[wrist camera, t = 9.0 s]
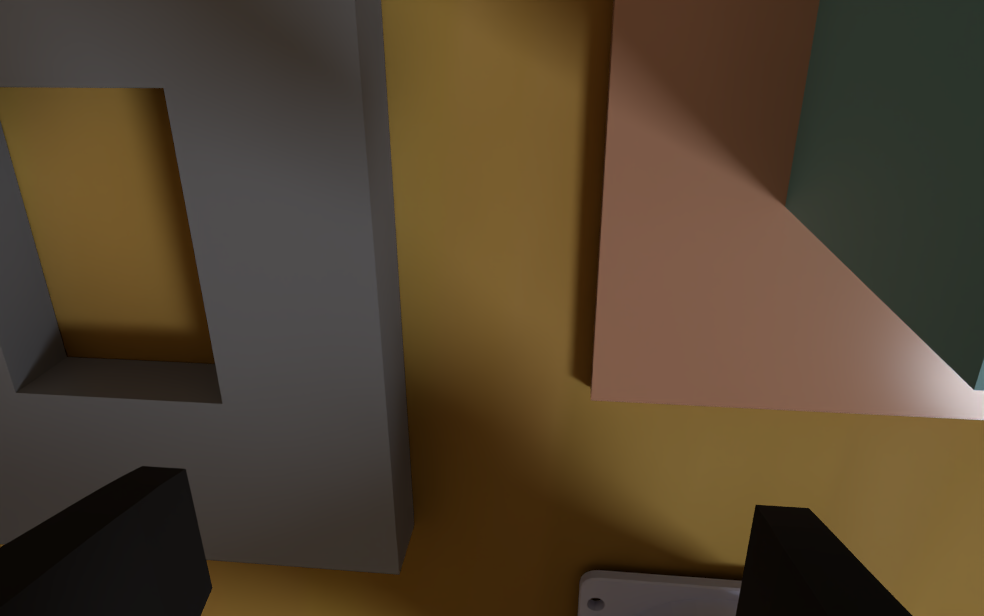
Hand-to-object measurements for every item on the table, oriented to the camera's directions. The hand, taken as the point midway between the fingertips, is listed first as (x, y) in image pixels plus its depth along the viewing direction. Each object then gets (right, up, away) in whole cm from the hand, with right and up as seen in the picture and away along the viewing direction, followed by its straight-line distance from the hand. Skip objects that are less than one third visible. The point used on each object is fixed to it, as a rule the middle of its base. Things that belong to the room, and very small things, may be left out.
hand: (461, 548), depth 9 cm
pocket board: (-9, +5, +9) cm, 14 cm away
